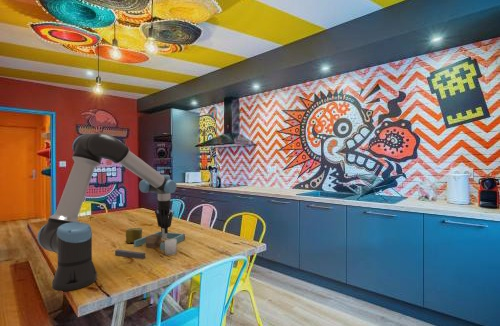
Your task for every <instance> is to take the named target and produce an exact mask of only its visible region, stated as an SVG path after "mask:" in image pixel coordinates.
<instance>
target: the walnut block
mask: <svg viewBox="0 0 500 326" xmlns="http://www.w3.org/2000/svg"><path fill="white" fill-rule="evenodd" d="M151 234H152V235H151ZM151 234H149V235H150V236H149V235H147V237H146V236H145V237H146V243H145V248H150V249H156V248H158V247H159V248H160V244H161V243H162V238H161V235H156V234H154V233H151Z"/></svg>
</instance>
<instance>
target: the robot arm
mask: <svg viewBox="0 0 500 326" xmlns="http://www.w3.org/2000/svg"><path fill="white" fill-rule="evenodd" d="M71 149H72V151H73V153H72V157H71V158H72V160H73V162H74V163H73V165H72V168H71V170H70V173H69V176H68V178H67V181H66V184H65V187H64V189H63V191H62V195H61V196H60V197H61V198H60V199H59V201H58V202H59V203H58V205H57V208H56V210H55V213H54V214H52V215H51V216H49V217H48V220H47V221H46V223H45V224H44V225H42V227H41V228H40V229H39V231H38V233H37V236H36V237H37V239H36V240H37V242H38V244H39V246H40V247H41V248H42V249H44V250H46V251H48V252H52V253H56V254H57V268H56V270H55V274H54V277H53V279H52V282H51V283H52V284H51V285H52V287H51V288H52V289H53V290H54V291H58V292H68V291H73V290H74V291H75V290H78V289H82V288H85V287H87V286H90V285H92V284H93V283H95V282H96V281H97V280H98V273H97V269H96V267H95V264H94V262H93V245H92V244H93V243H92V241H93V239H92V238H93V237H92V236H93V231H92V226H91V225H90V224H89V223H87V222H83V221H82V222H81V221H80V220H79V218H78V217H79V214H80V211H81V209H82V205H83V202H84V200H85V197H86V194H87V193H88V192H87V191H88V189H89V185H90V183H91V181H92V176H93V174H94V172H95V169H96V168H97V167H98V166H100V165H101V163H102V160H103V159H105V160H109V161H111V162H112V163H114V164H119V165H120V166H122V167H123V168H126V169H127V170H128V171H130V172H131V173H133V174H134V175H136V176H137V177H138V178H140V179H141V180H140V181H139V184H138V187H139V191H140V192H141V193H144V194H146V193H157V200H158V201H157V207H158V208H157V210H155V211H154V214H155V216H156V221H157V226H158V227H159V228H160V232H161V233H162V238H161V240H166V239H168V238H167V233H168V232H169V230H168V228H170V227H171V226H172V221H173V220H172V219H173V216H174V214H175V211H173V210H172V209H171V205H172V204H171V194H172V193H173V194H174V193H175V191H176V189H177V183H176V181H175V180H174V179H171V175H169V174H161V173H160V172H159V171H157V170H156V169H155V168H154V167H152V166H150V165H149V164H148V163H146V162H145V161H144V160H143V159H142V158H140V157H138V156H137V155H136V154H134V153H133V152H132V151H130V147H129V146H127V145H126V144H125V143H124V142H122V141H120V140H119V139H118V138H116V137H114V136H113V135H111V134H109V133H106V132H97V133H86V134H82V135H79V136H78V137H77V138H75V139H74V141H73V143H72V148H71Z"/></svg>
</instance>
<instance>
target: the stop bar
mask: <svg viewBox="0 0 500 326" xmlns="http://www.w3.org/2000/svg"><path fill="white" fill-rule="evenodd" d="M117 255H118V257H119V256H120V257H125V258H133V259H139V260H145V258H146V253H145V252H142V251H141V252H140V251H132V250H124V249H116V250H115V251H114V256H117Z"/></svg>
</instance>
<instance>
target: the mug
mask: <svg viewBox="0 0 500 326" xmlns="http://www.w3.org/2000/svg"><path fill="white" fill-rule="evenodd" d="M141 238H143V227H133V228H132V227H129V228H126V229H125V240H126V243H127V244H134V241H135V240H138V239H141Z"/></svg>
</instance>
